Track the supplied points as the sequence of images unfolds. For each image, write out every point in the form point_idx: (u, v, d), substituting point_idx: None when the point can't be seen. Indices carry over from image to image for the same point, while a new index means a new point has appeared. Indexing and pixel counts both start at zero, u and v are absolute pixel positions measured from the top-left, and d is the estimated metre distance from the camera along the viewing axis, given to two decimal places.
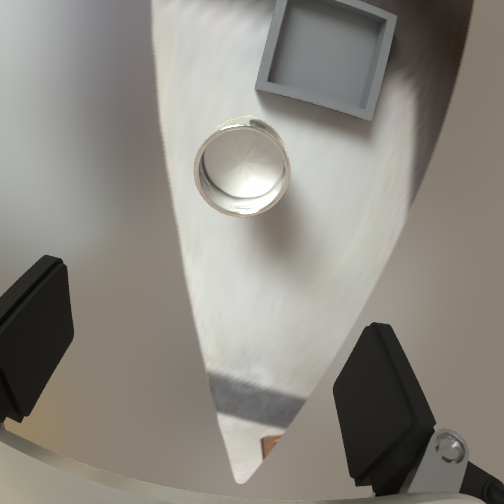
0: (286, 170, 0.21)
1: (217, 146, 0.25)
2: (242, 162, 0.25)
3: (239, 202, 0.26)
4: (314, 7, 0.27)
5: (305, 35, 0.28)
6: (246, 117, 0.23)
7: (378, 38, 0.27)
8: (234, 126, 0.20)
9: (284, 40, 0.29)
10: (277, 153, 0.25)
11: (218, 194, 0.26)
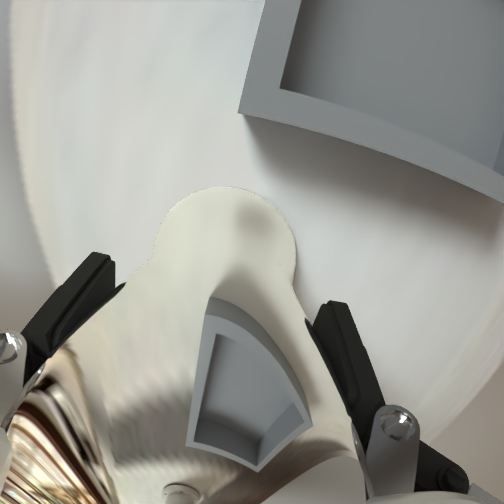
0: None
1: None
2: None
3: None
4: None
5: None
6: (136, 428, 0.03)
7: None
8: None
9: None
10: None
11: None
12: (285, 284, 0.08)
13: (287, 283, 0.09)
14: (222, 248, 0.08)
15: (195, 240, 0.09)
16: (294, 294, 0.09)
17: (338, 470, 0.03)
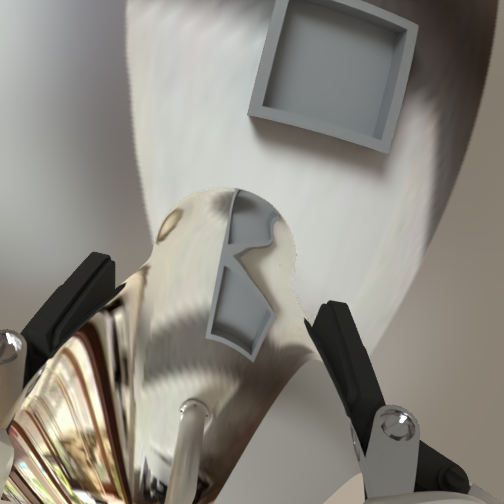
0: None
1: None
2: None
3: None
4: (320, 13, 0.22)
5: (309, 47, 0.24)
6: (136, 427, 0.03)
7: (396, 52, 0.23)
8: None
9: (283, 53, 0.24)
10: None
11: None
12: (285, 284, 0.08)
13: (287, 283, 0.09)
14: (222, 249, 0.08)
15: (195, 240, 0.09)
16: (294, 294, 0.09)
17: (337, 470, 0.03)
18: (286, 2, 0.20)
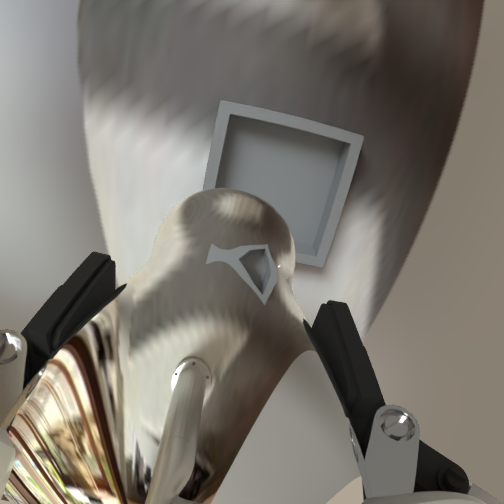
0: None
1: None
2: None
3: None
4: (263, 128, 0.28)
5: (252, 166, 0.29)
6: (135, 431, 0.03)
7: (339, 164, 0.28)
8: None
9: (227, 174, 0.30)
10: None
11: None
12: (284, 286, 0.08)
13: (286, 285, 0.09)
14: (221, 250, 0.08)
15: (195, 242, 0.09)
16: (293, 296, 0.09)
17: (336, 473, 0.03)
18: (224, 130, 0.26)
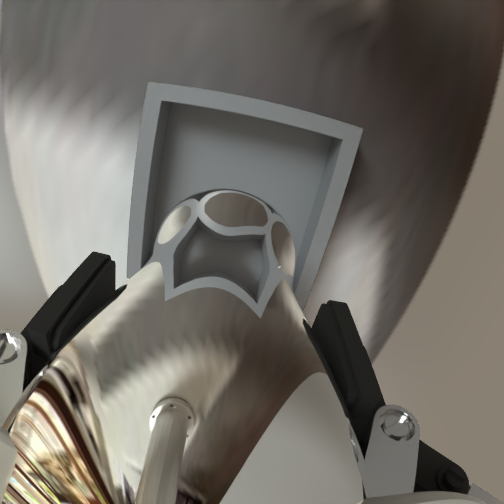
0: None
1: None
2: None
3: None
4: (215, 119, 0.19)
5: (201, 174, 0.21)
6: (136, 433, 0.03)
7: (326, 169, 0.20)
8: None
9: (169, 186, 0.21)
10: None
11: None
12: (285, 287, 0.08)
13: (287, 286, 0.09)
14: (222, 251, 0.08)
15: (195, 242, 0.09)
16: (294, 297, 0.09)
17: (336, 474, 0.03)
18: (154, 124, 0.17)
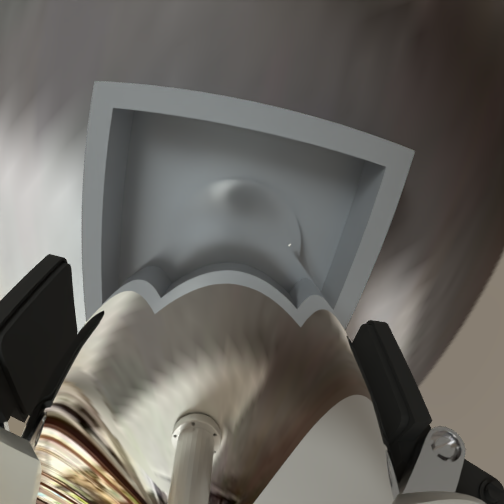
0: None
1: None
2: None
3: None
4: (196, 133, 0.13)
5: None
6: (200, 342, 0.04)
7: (357, 206, 0.14)
8: None
9: (135, 227, 0.15)
10: None
11: None
12: (296, 259, 0.09)
13: (298, 259, 0.10)
14: (242, 227, 0.09)
15: (217, 221, 0.10)
16: None
17: (355, 387, 0.04)
18: (104, 144, 0.11)
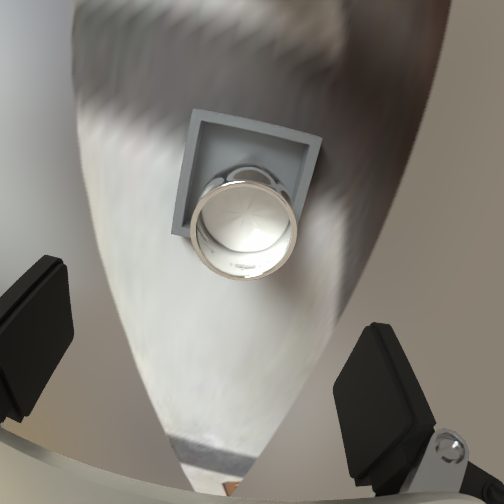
0: (293, 232, 0.20)
1: (216, 197, 0.23)
2: (243, 215, 0.23)
3: (239, 258, 0.24)
4: (232, 132, 0.31)
5: None
6: (248, 165, 0.22)
7: (301, 163, 0.32)
8: (235, 183, 0.18)
9: (201, 174, 0.33)
10: (282, 205, 0.23)
11: (217, 250, 0.24)
12: None
13: None
14: None
15: None
16: None
17: (279, 179, 0.22)
18: (196, 134, 0.29)
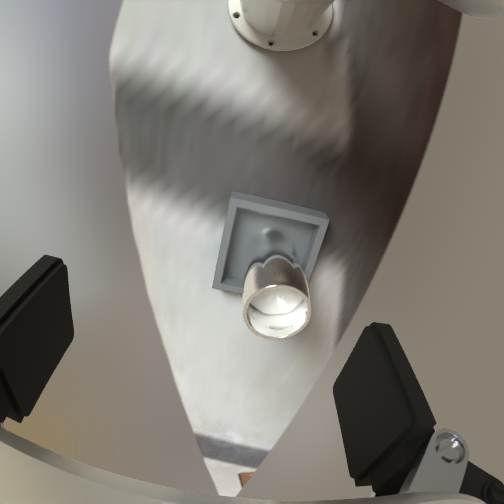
0: (308, 312, 0.31)
1: None
2: (274, 293, 0.34)
3: (271, 320, 0.35)
4: (259, 212, 0.42)
5: (251, 237, 0.44)
6: (279, 262, 0.33)
7: (312, 236, 0.43)
8: (274, 286, 0.29)
9: (235, 242, 0.44)
10: None
11: (256, 315, 0.35)
12: (291, 253, 0.38)
13: (291, 253, 0.39)
14: (278, 245, 0.38)
15: (271, 243, 0.39)
16: None
17: (299, 271, 0.33)
18: (233, 217, 0.40)
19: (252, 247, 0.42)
